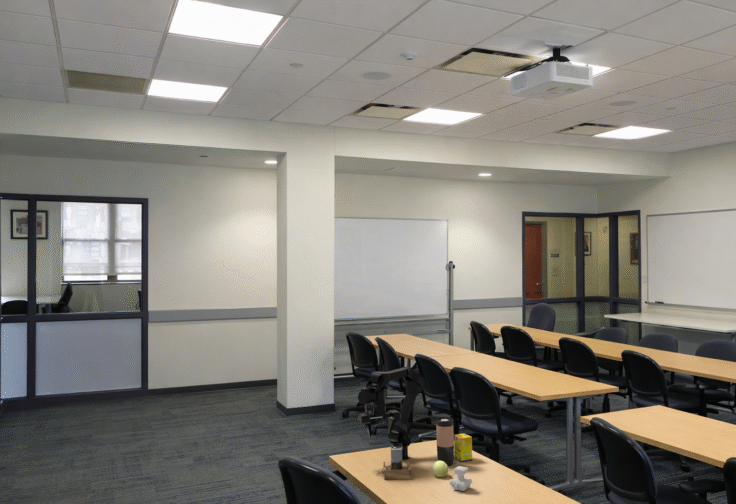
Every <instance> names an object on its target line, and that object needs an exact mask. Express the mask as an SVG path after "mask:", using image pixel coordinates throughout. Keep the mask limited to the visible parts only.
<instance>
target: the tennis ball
mask: <svg viewBox="0 0 736 504" xmlns="http://www.w3.org/2000/svg"><path fill="white" fill-rule="evenodd" d="M431 470H432V473H433V474H434V475H435V476H436V477H437V478H445V477H446V476H447V474H448V472H449V467H448V466H447V464H446V463H445V462H443V461H438V460H437V461H435V462H433V465H432V469H431Z"/></svg>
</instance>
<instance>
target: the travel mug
mask: <svg viewBox="0 0 736 504" xmlns="http://www.w3.org/2000/svg"><path fill="white" fill-rule="evenodd" d="M435 423H436V425H435V426H436V428H435V429H436V455H437V456H436V457H437V461H443V462H445V463H446V464H447V466H448V468H449V467H453V466H454V465H455V458H454V435H455V433H454V418H452V417H450V416H440V417H437V418H436V422H435Z"/></svg>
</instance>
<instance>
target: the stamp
mask: <svg viewBox="0 0 736 504" xmlns="http://www.w3.org/2000/svg"><path fill="white" fill-rule="evenodd" d="M468 470H469V467H465V466H461V465H458V466H456V467H455V468H454V470H453V471H454V474H455V475H456V477H454V478H452V479H451V480H450V482H449V485H450V486H451V488H453V490H456V491H460V492H465V491H467V490H468V489H469V487H470V486H471V485H472V483H473V480H472V478H468V477H464V476H465V475H466V474H467V473H468Z"/></svg>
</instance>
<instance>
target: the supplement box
mask: <svg viewBox="0 0 736 504" xmlns="http://www.w3.org/2000/svg"><path fill="white" fill-rule="evenodd" d="M472 437H473V436H472V435H471V436H470V435H468V434H467V433H458V434H454V460H457V461H459V462H460V463H467V462H471V461H473V438H472Z"/></svg>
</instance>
